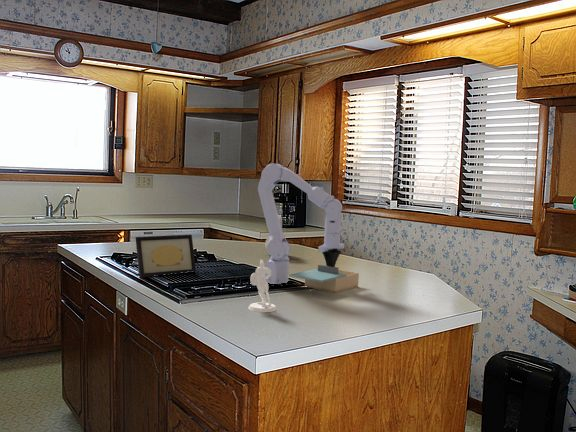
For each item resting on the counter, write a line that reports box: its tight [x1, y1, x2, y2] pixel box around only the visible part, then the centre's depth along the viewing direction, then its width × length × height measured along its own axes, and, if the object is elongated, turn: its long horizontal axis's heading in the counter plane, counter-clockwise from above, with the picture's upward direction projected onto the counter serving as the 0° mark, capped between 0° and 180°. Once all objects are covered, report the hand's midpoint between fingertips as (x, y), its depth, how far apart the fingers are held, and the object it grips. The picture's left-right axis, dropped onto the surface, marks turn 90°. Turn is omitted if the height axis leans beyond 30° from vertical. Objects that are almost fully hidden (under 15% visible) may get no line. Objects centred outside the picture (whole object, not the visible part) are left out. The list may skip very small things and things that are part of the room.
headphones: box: [264, 214, 283, 256], centre depth 278 cm, size 18×10×20 cm, turn 4°
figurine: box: [247, 259, 278, 313], centre depth 175 cm, size 9×9×15 cm
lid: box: [288, 264, 347, 282], centre depth 205 cm, size 16×13×3 cm
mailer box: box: [304, 269, 360, 294], centre depth 213 cm, size 16×13×5 cm
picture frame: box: [134, 234, 197, 279], centre depth 222 cm, size 23×9×15 cm, turn 129°
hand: (330, 269), depth 211 cm, fingers closed
